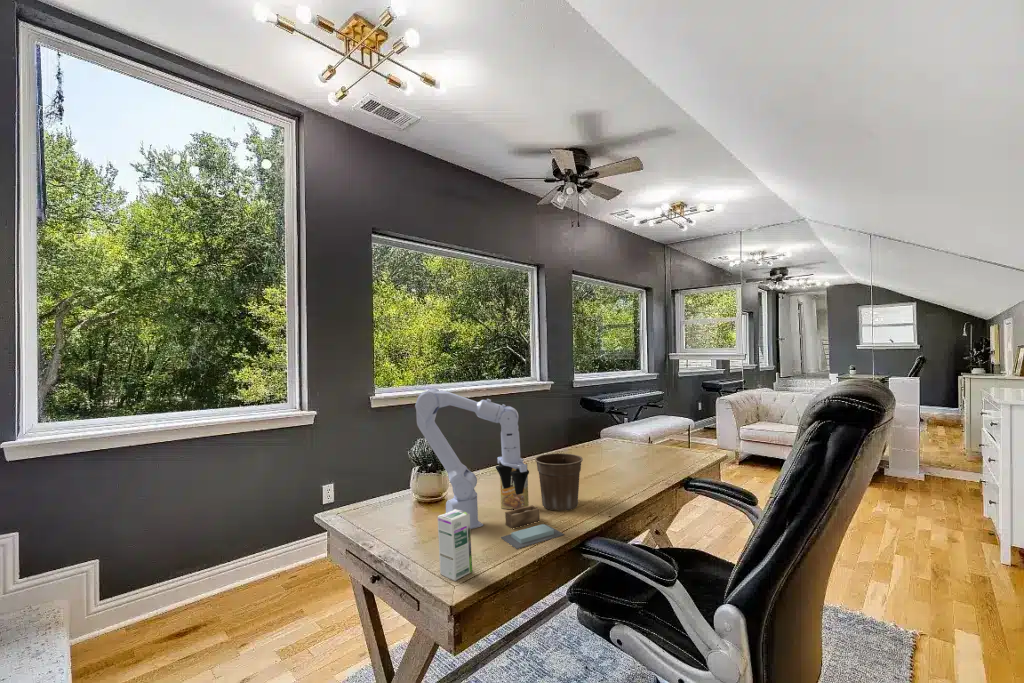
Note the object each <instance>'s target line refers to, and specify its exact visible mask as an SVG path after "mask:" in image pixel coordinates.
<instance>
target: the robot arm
mask: <svg viewBox="0 0 1024 683" xmlns="http://www.w3.org/2000/svg"><path fill="white" fill-rule="evenodd" d="M448 406H452V407H456V408H458V409H461V410H462V409H463V410H466V411H469V412H473V413H475V415H476V416H477V417H478V418H480V419H482V420H486V421H489V422H491V423H495V424H500V430H501V431H500V445H501V456H498V457H497V458H496V459H497V464H498V465H495V469H496V471H497V473H498V475H499V479H500V478H501V481H502V484H503V488H504V489H505V488H509V487H510V486H511V476H512V478H513V481H514V486H515V492H516V494H517V495H518V494H522V493H523V490H524V485H525V481H526V478H527V476H528V477H529V474H530V470H527V469H528V464H527V465H526V464H524V463H525V462H524V459H523V458H522V457H521V443H520V442H521V441H520V431H519V428H520V427H519V413H518V411H517V409H516V408H514V407H513V406H510V405H507V406H506V404H504V403H502V405H501V404H499V403H495V402H492V399H489V398H486V399H481V400H480V401H476V400H473V399H470V398H467V397H465V396H462V395H459V394H456V393H453V392H450V391H448V390H447V391H446V390H443V389H442V390H441V389H440V390H439V389H438V388H430V389H427V390H426V391H422V392H421V393H420V394H418V397H417V398H416V402H415V405H414V408H415V410H416V413H415V414H416V426H417V428H418V429H419V431H420V432H421V434H422V435H423V437H424V439H425V440H426V442H427V443H428V445H429V446H430V447H431V449H432V451H433V453H434V454H435V455H436V457H437V458H438V460H439V462H440V463H441V464H442V466H443V468H444V469H445V471H446V473H447V474H448V475H447V476H448V479H449V480H448V481H449V483H450V484H451V487H452V492H453V498H451V499H448V500H447V501H446V503H445V513H448V512H450V511H453V510H454V509H456V510H461V511H464V512H467V513H469V514H470V530H473V529H476V528H480V527H483V526H484V524H483V523H482V522H481V521H480V520H479V510H478V508H479V506H478V493H477V492H476V490H475V488H476V486H477V485H478V484H477V483H478V478H477V476H476V474H475V472H472V471H471V470H469V468H468V467H467V466H466V465H465V464H463V463H462V461H461V460H460V459H459V457H458V456H457V454H456V453H455V450H454V449H453V448H452V446H451V445H450V443H449V442H448V440H447V439H446V437H445V435H444V434H443V432H442V431H441V429H440V428H439V426H438V425H437V423H436V421H435V420H436V417H437V413H438V411H439V409H441V408H444V407H448ZM512 468H514V469H516V471H512Z"/></svg>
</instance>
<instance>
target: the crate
mask: <svg viewBox="0 0 1024 683" xmlns="http://www.w3.org/2000/svg"><path fill="white" fill-rule="evenodd" d="M504 513H505V514H504V515H505V526H507V527H508V528H510V529H511V528H512V529H511V530H514V529H513V528H515V529H517V528H516V527H519V528H521V527H520V526H522V527H525V526H524V525H526V526H528V525H527V524H529V525H532V524H531V523H533V524H535V523H534V522H537V523H539V522H538V521H540V522H541V519H540V518H541V517H540V514H541V513H540V508H538V507H536V506H535V505H529V506H527V507H523V508H519V509H515V510H513V509H510V510H508V511H505V512H504Z"/></svg>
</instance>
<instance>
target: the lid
mask: <svg viewBox="0 0 1024 683" xmlns="http://www.w3.org/2000/svg"><path fill="white" fill-rule="evenodd" d="M545 524H546V523H545ZM545 524H544V523H542V524H538V525H535V526H531V527H530V526H529V527H528V528H524V529H520V530H516V531H512V532H510V534H511V537H512V538H514V539H515V540H517V541H518V542H519V543H525V542H528V541H532V540H535V539H539V538H542V537H546V536H549V535H553V534H554V530H553V529H552V528H553V527H552V528H550V527H551V526H550V527H548V526H546V525H545Z"/></svg>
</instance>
